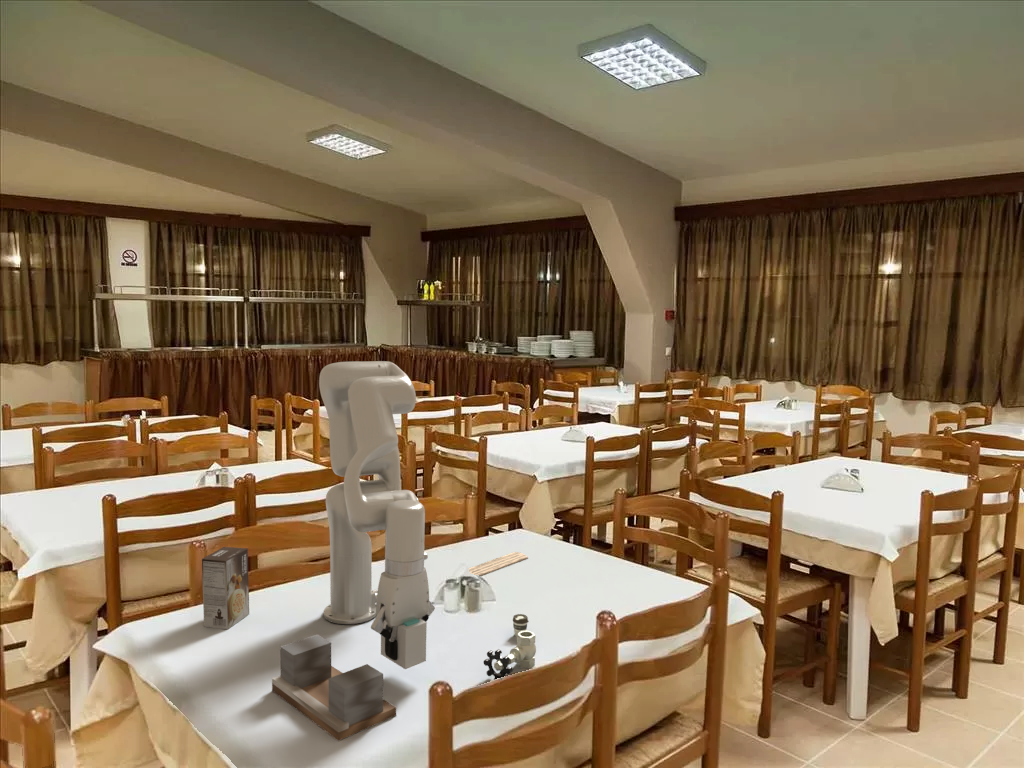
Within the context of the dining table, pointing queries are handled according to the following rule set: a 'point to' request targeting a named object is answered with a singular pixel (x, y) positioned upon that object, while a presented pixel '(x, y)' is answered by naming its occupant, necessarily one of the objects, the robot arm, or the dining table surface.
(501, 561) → the striped wooden board
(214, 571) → the coffee box
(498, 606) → the dining table surface
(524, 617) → the coffee cup
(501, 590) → the dining table surface
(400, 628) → the module block
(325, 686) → the mounting plate
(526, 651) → the valve
